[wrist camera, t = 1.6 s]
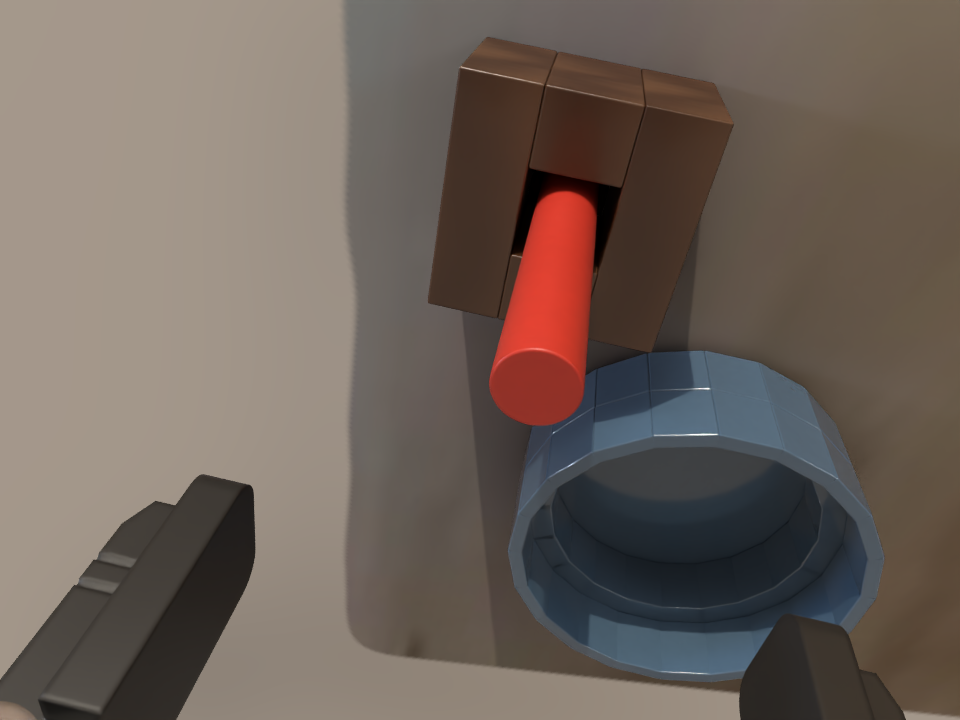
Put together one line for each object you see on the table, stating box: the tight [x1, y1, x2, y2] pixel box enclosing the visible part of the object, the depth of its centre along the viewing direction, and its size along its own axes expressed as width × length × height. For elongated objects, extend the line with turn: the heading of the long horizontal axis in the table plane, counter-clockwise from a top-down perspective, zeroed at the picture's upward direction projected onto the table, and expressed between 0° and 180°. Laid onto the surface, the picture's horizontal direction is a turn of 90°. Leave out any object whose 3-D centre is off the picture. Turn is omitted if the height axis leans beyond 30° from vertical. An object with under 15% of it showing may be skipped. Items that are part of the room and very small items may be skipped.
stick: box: [489, 172, 599, 426], centre depth 21 cm, size 2×2×14 cm
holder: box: [428, 37, 734, 353], centre depth 24 cm, size 8×8×5 cm
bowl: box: [508, 350, 885, 682], centre depth 31 cm, size 14×14×6 cm
